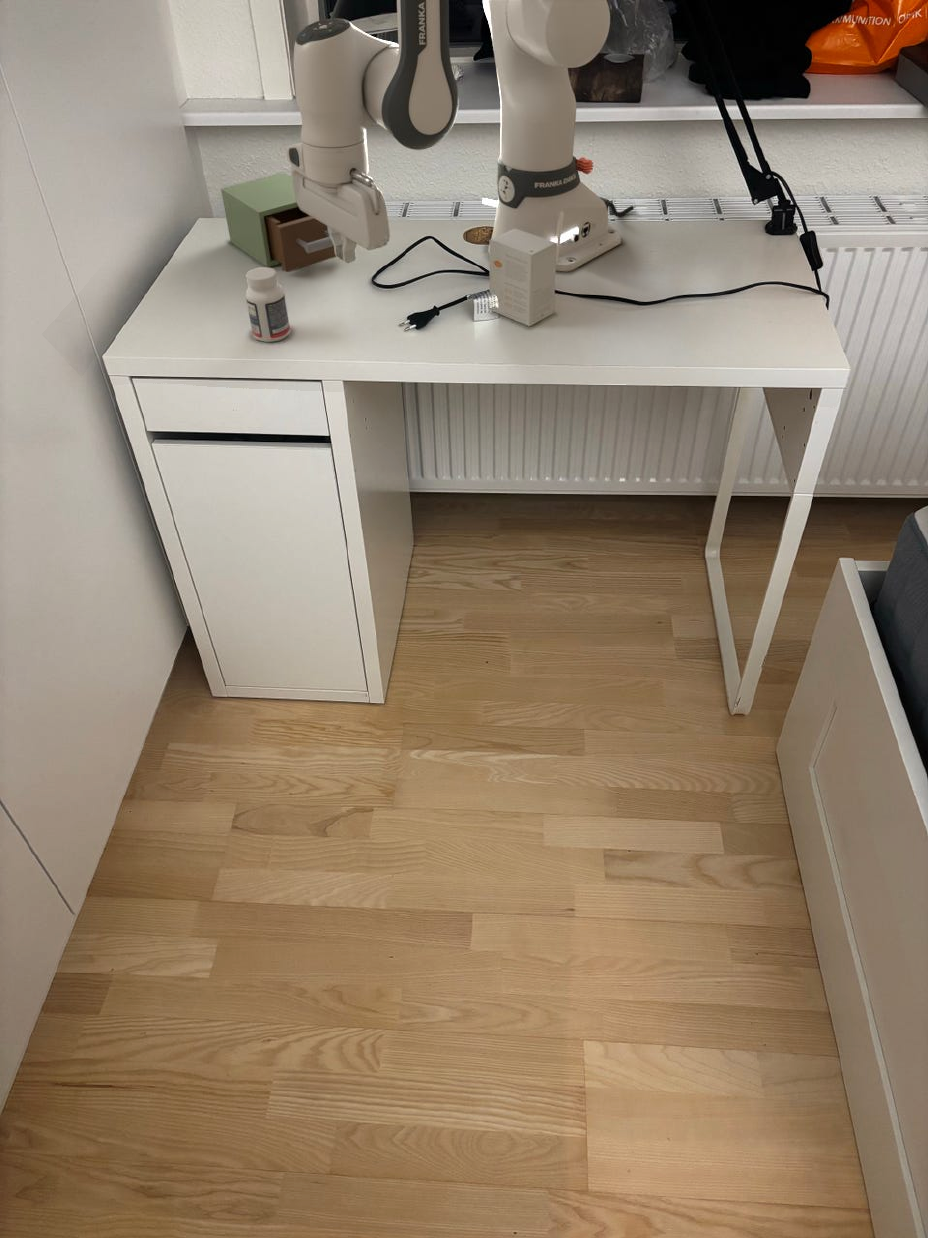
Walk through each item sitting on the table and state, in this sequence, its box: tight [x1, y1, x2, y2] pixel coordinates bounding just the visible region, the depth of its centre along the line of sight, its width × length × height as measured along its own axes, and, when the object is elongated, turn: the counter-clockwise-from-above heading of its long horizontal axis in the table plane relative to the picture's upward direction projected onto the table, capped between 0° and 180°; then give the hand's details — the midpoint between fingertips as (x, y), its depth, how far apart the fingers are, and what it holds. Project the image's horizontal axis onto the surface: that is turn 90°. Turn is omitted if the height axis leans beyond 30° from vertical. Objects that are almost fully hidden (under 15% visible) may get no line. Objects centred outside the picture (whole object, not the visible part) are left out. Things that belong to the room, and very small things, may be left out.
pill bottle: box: [245, 266, 291, 343], centre depth 127 cm, size 5×5×9 cm
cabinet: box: [220, 171, 298, 268], centre depth 149 cm, size 13×12×9 cm
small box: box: [488, 229, 557, 327], centre depth 131 cm, size 8×6×10 cm
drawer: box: [264, 207, 337, 273], centre depth 145 cm, size 16×10×7 cm, turn 38°
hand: (345, 258), depth 136 cm, fingers closed
